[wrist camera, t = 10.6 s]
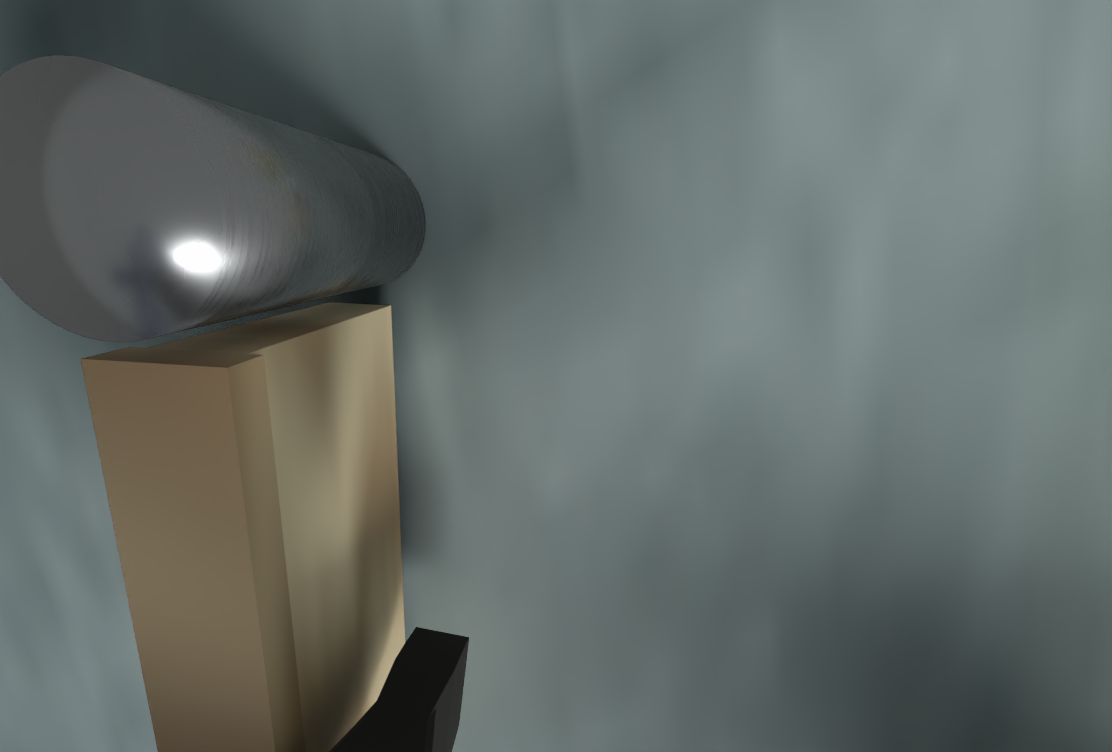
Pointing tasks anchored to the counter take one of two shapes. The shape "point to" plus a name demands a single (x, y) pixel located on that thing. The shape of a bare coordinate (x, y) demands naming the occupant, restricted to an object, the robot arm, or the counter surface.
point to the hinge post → (181, 205)
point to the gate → (257, 524)
